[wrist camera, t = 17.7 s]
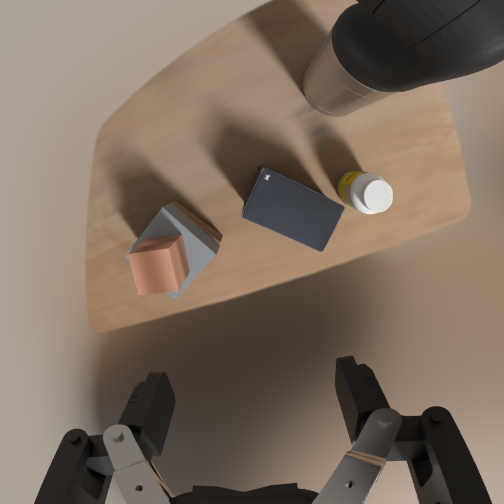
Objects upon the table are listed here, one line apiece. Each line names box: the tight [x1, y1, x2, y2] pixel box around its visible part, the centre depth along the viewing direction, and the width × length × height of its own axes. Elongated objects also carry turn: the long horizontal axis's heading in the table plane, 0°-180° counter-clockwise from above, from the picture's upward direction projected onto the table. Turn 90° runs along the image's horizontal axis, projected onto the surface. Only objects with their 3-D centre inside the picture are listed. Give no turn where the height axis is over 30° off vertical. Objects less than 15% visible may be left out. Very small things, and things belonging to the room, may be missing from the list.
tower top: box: [125, 203, 220, 300], centre depth 39 cm, size 9×9×4 cm
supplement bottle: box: [338, 171, 393, 214], centre depth 37 cm, size 5×5×10 cm
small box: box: [241, 165, 345, 252], centre depth 37 cm, size 11×6×10 cm, turn 66°
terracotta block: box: [128, 234, 190, 295], centre depth 34 cm, size 5×5×6 cm
